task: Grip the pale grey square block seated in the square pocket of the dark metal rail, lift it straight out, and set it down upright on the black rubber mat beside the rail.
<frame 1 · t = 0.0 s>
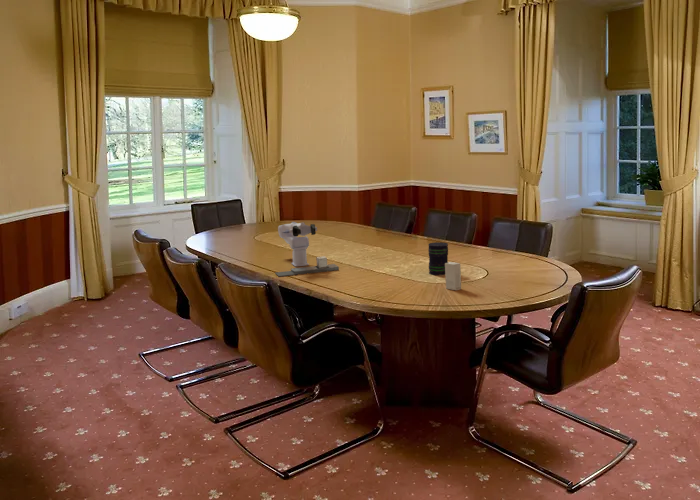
hand: (307, 230, 358), 22 cm above the table, tool horizontal, fingers open, 7 cm apart
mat: (285, 274, 358), on the table
skincare box: (453, 289, 315), on the table
rail: (314, 271, 363), on the table
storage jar: (438, 273, 347), on the table
pale grey square block: (322, 270, 364), resting in rail
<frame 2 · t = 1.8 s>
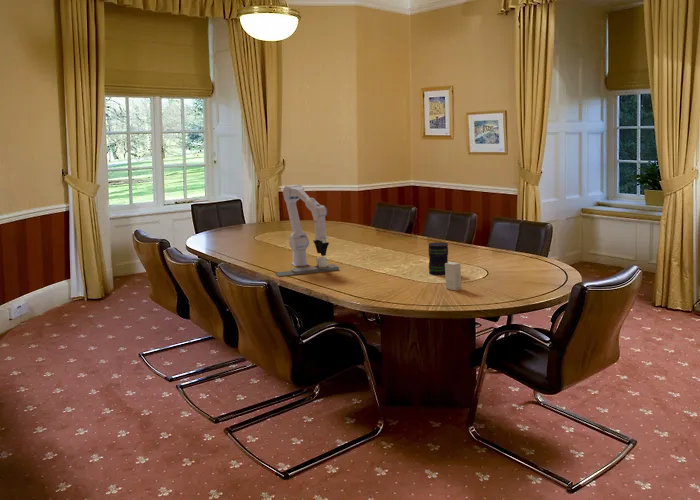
hand: (321, 254, 363), 9 cm above the table, tool pointing down, fingers open, 7 cm apart
nothing on the table moved.
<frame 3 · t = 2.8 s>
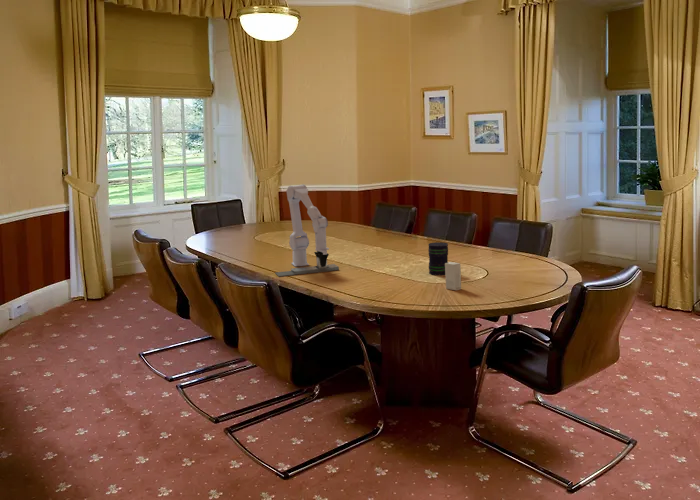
hand: (322, 265, 364), 2 cm above the table, tool pointing down, fingers closed on pale grey square block, 4 cm apart
pale grey square block: (322, 270, 364), resting in rail, touching gripper
everything else where it was.
when the fingers open (4 cm above the table, at t = 6.4 s): pale grey square block stays where it is, resting on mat.
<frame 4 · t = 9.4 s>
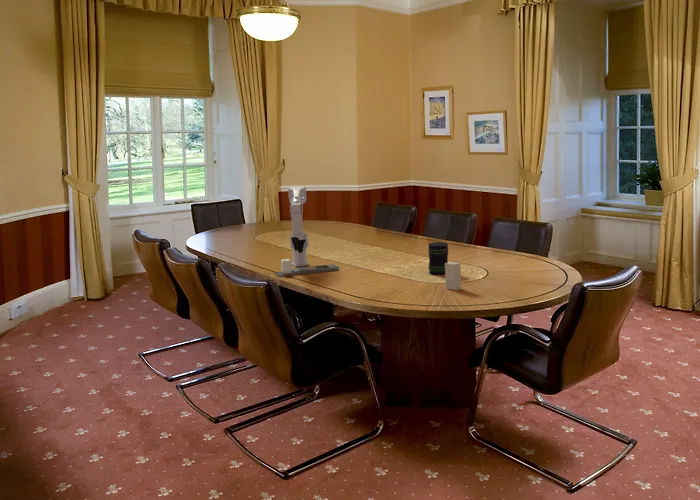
hand: (298, 251, 363), 10 cm above the table, tool pointing down, fingers open, 7 cm apart
pale grey square block: (286, 273, 358), resting on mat
everything else where it was.
at the end: pale grey square block inside the target area on the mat (0.7 cm from its centre), point 0.5 cm above the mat's base; pale grey square block tilted 0°; the gripper is holding nothing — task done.
